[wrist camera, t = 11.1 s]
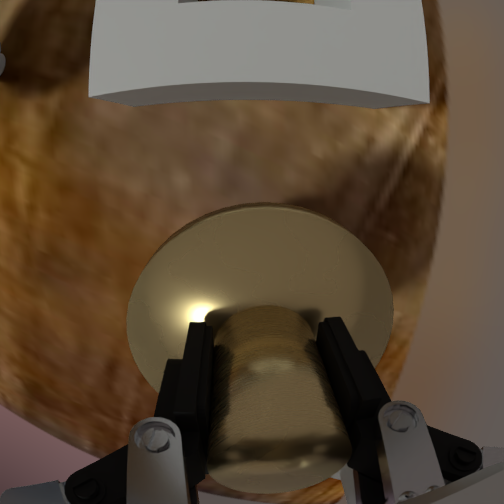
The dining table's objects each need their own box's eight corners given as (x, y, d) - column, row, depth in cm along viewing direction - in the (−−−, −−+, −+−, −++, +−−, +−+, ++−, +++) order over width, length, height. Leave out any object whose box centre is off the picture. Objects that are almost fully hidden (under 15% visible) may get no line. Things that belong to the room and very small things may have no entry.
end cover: (335, 348, 18) (394, 498, 8) (170, 354, 18) (138, 516, 8) (357, 182, 14) (521, 277, 5) (148, 184, 14) (8, 294, 4)
